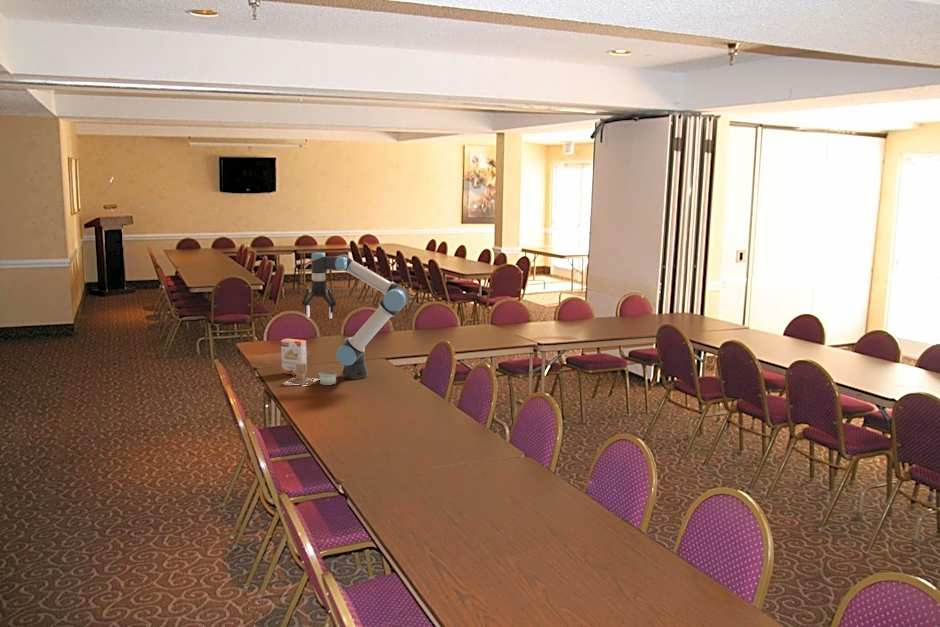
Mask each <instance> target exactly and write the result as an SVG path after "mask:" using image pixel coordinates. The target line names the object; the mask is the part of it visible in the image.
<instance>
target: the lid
mask: <svg viewBox="0 0 940 627" xmlns="http://www.w3.org/2000/svg"><path fill="white" fill-rule="evenodd" d="M307 375H308V365H307V366H306V363H299V364H297V365H296V376H295V377H296V378H294V377H293V378H291V379H292V383H295V384H305V383H310V382H311V381H312V379H313V378H312V377H311V378H312V379H311V378H310V377H308V376H307Z"/></svg>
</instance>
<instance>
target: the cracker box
mask: <svg viewBox="0 0 940 627" xmlns="http://www.w3.org/2000/svg"><path fill="white" fill-rule="evenodd" d="M280 344H281V345H280V347H281V349H280V350H281V351H280V352H281V353H280V354H281V355H280V356H281V374H282V373H286V374H294V375H296V365H297V364H299V363H306V366H307V367H308V364H307V363H308V361H307V359H308V358H307V356H308V355H307V340H306V339H305V340H304V339H297V338H296V339H293V338H283V339H281V340H280ZM286 374H285V375H286ZM294 375H293V376H294Z"/></svg>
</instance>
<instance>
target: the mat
mask: <svg viewBox="0 0 940 627" xmlns="http://www.w3.org/2000/svg"><path fill="white" fill-rule="evenodd" d="M313 379H314V380H313V382H316V381H318V380H320V378H313ZM288 381H289V380H287V381H285V382H283V383H282V384H284V385H283V386H291V385H299V384H295V383H292V382H288ZM318 382H319V381H318ZM316 383H317V382H316ZM306 384H308V383H306ZM305 386H307V385H302V386H301V387H305Z"/></svg>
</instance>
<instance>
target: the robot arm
mask: <svg viewBox="0 0 940 627" xmlns="http://www.w3.org/2000/svg"><path fill="white" fill-rule="evenodd" d="M310 262H311V264H310V265H311V287H309V288H307V289H306V293H305V295H304V297H303V300H302V301H301V305H303V306H304V311H305V312H306V318H310V317H311V311H310V309H311V308H310V305H309V304H311V303H312V301H313V300H314V298H315V297H316V298H323V300H325V301H326V303H327V304H328V306H329V307H328V318H329V319H330V320H331V319H333V313H334V310H335V308H334V307H335V306H338V304H337V301H336V300H335V297H334V296H333V295H334V294H333V293H332V289H331V288H329V289H327V287H326V284H327V283H326V271H345V272H346V273H348V274H350V275H352V276H354V277H355V278H357V279H359V280H360V281H362V282H363V283H365V284H367V285H369V286H371V287H372V288H374V289H375V290H377V291H379V292H381V293H382V294H383V295H384V296H383V298H381V299H380V301H379V302H378V305H379V306H378V307H377V309H376V310H375V311H374V313H372V314H371V315H370V317H369V318H368V319H367V320H366V321H365V323H364V324H362V326H361V327H360V328H359V329H358V331H357V332H356V333H355V334H354V335H353V336H349V337H345V338H344V340H343V342H344V343H342V345H341V346H339V347H338V348H337V350H336V351H335V352H336V353H335V356H336V360H337V362H338V363H339V364H341V365H342V366H343V368H342V371H341V378H343V379H345V378H347V380H361V378H363V379H366V378H368V377H369V372H368V369H367V366H366V361H365V360H366V357H365V356H366V355H365V350H366V348H365V347H366V346H367V344H369V343H370V341H371V340H372V339H373V338H374V337H375V336H376V335H377V333H378V332H379V331H380V330H381V328H383V327H384V325H385V324H386V323H387V322H388V320H390V318H391V317H396V316H397V315H398V314H399V312H400V311H401V310H402V309H403V308H404V307H405V306H407V304H409V302H410V296H411V295H410V293H409V291H408V289H406V287H403V286H402V285H400V284H398V283H396V282H395V281H390V280H388V279H386V278H384V277H383V276H381V275H380V274H378V273H376V272H374V271H372V270H371V269H369V268H367V267H366V266H364V265H362V264H360V263H359V262H357V261H355V260H353V259H352V258H351V257H350V256H349V255H348V254H343V253H342V254H339V255H337V256H326V252H313V253H312V254H311V259H310ZM311 293H312V294H311ZM326 293H327V294H326ZM310 294H311V295H310ZM309 296H310V297H309Z"/></svg>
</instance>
